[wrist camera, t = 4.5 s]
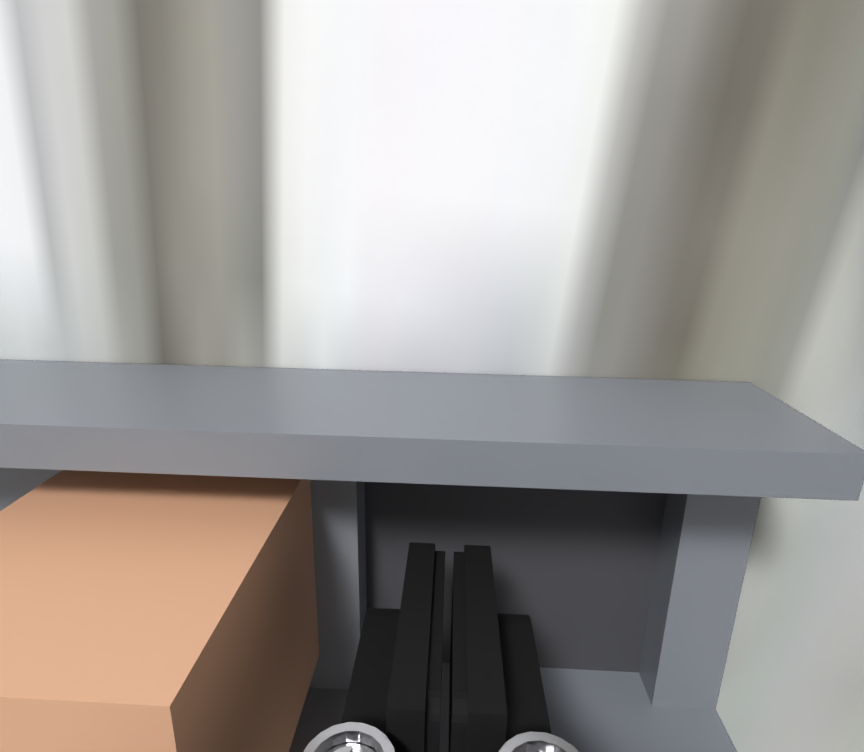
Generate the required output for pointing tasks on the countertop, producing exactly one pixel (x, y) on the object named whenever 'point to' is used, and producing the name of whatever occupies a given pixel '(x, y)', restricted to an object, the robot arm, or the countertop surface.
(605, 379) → the grey railed tray
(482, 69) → the countertop surface
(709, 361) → the countertop surface
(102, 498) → the block
